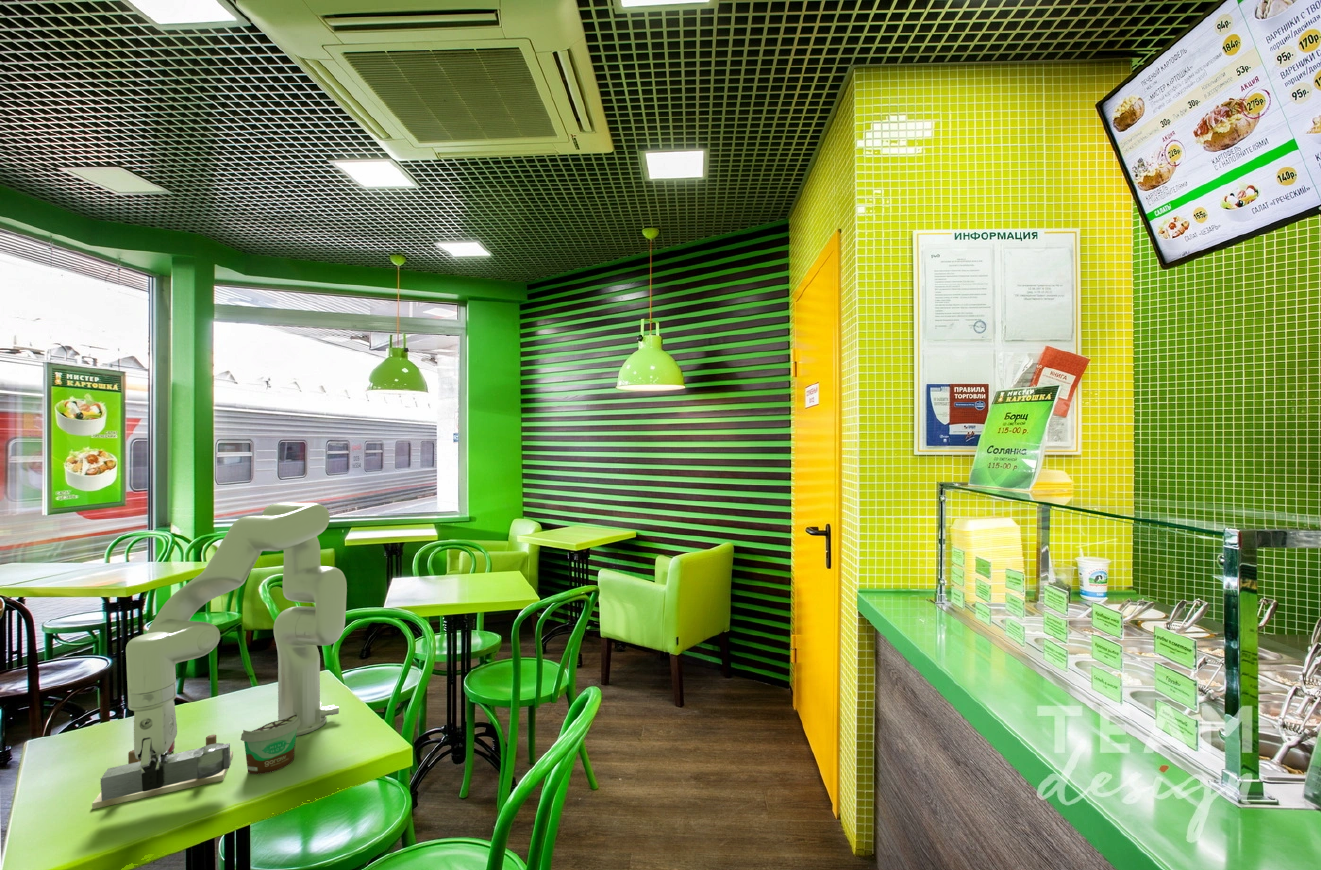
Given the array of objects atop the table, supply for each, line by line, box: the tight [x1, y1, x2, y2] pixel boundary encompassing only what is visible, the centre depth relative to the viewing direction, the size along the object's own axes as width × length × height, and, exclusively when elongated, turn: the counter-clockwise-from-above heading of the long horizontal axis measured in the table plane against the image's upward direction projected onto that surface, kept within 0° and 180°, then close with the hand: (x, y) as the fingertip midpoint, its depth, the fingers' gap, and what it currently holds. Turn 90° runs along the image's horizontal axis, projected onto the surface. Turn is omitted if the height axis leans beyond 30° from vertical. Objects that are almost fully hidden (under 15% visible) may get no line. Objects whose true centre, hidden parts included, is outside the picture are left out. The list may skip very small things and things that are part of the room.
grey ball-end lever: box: [100, 742, 232, 801], centre depth 123 cm, size 20×5×5 cm, turn 117°
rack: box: [91, 734, 234, 810], centre depth 132 cm, size 22×12×6 cm, turn 117°
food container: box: [240, 711, 301, 775], centre depth 138 cm, size 12×6×10 cm, turn 148°
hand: (156, 781), depth 122 cm, fingers closed on grey ball-end lever, 4 cm apart
